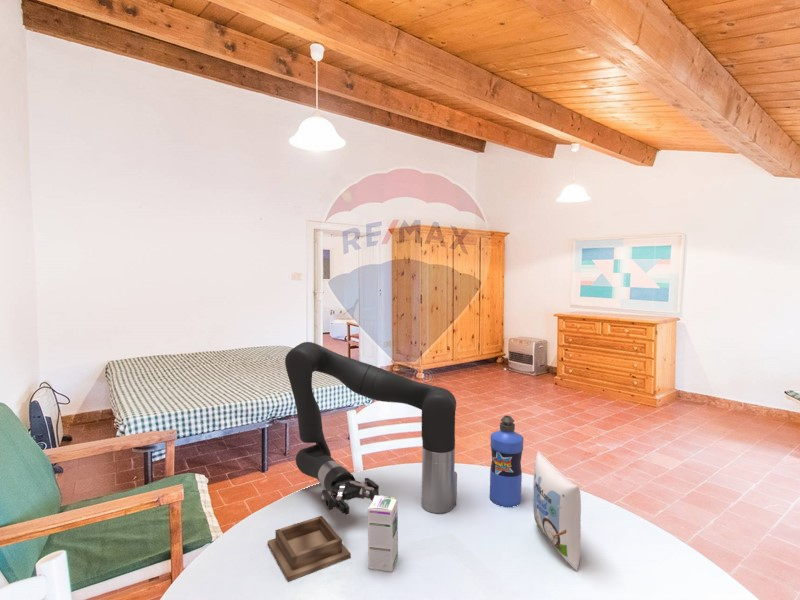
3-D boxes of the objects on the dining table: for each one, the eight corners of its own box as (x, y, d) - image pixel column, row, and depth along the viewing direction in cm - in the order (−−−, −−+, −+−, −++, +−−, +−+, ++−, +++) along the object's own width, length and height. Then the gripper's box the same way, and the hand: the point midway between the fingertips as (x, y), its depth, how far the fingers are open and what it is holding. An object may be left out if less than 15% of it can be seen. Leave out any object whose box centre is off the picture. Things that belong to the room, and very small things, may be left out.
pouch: (553, 522, 118) (555, 450, 117) (589, 571, 99) (593, 485, 98) (524, 524, 117) (526, 451, 116) (555, 573, 98) (559, 486, 97)
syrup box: (392, 572, 98) (393, 510, 97) (367, 568, 99) (367, 506, 98) (398, 556, 103) (398, 497, 102) (373, 553, 105) (374, 494, 104)
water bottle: (515, 511, 124) (518, 424, 122) (484, 501, 128) (486, 417, 127) (525, 497, 131) (528, 415, 130) (495, 488, 136) (497, 409, 135)
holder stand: (324, 525, 115) (324, 511, 115) (350, 557, 103) (350, 541, 103) (267, 544, 107) (267, 528, 107) (288, 581, 95) (287, 563, 94)
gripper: (311, 472, 118) (337, 499, 104) (358, 460, 126) (388, 483, 112) (311, 499, 118) (337, 529, 105) (358, 485, 126) (388, 512, 113)
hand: (363, 506), depth 109 cm, fingers open, 8 cm apart
